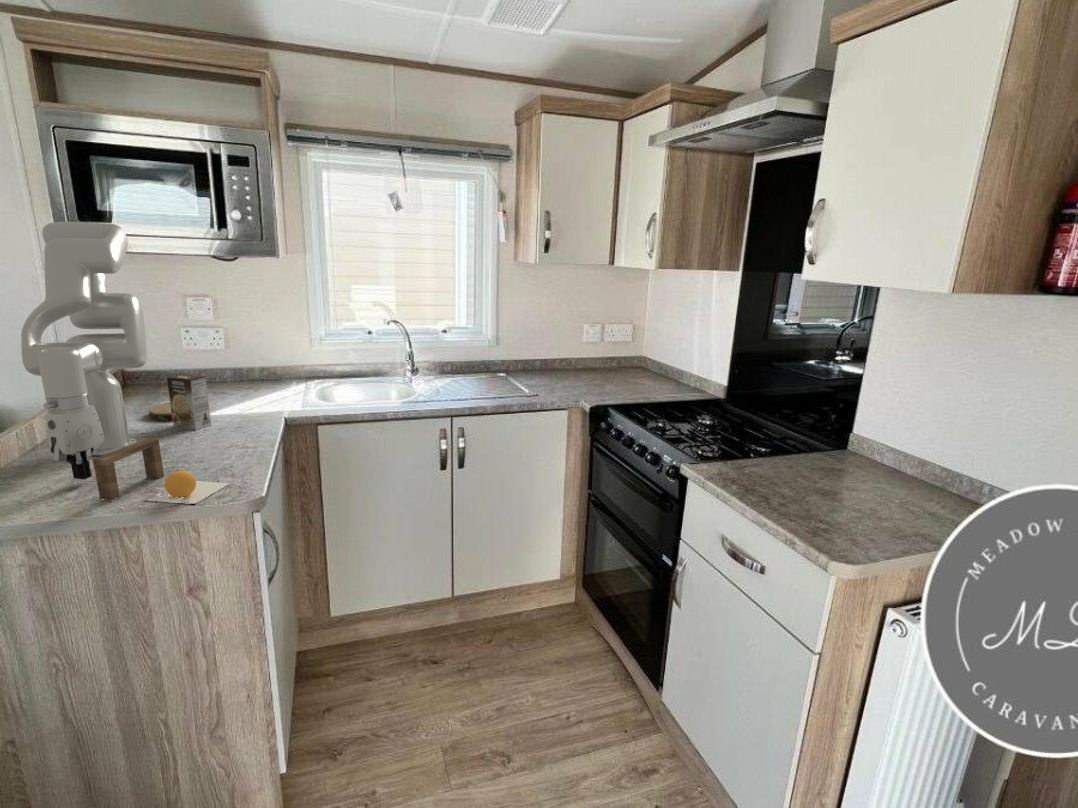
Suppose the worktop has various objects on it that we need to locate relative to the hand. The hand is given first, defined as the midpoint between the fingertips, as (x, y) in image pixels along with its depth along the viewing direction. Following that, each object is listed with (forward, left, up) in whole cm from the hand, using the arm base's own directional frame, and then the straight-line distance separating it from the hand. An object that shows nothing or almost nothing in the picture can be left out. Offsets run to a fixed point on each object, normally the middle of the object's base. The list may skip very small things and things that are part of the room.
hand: (82, 477), depth 135 cm
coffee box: (-15, +44, -2) cm, 46 cm away
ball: (+27, +3, +2) cm, 27 cm away
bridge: (+13, +2, -2) cm, 13 cm away
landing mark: (+27, +5, -2) cm, 27 cm away
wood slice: (-30, +52, -2) cm, 60 cm away
